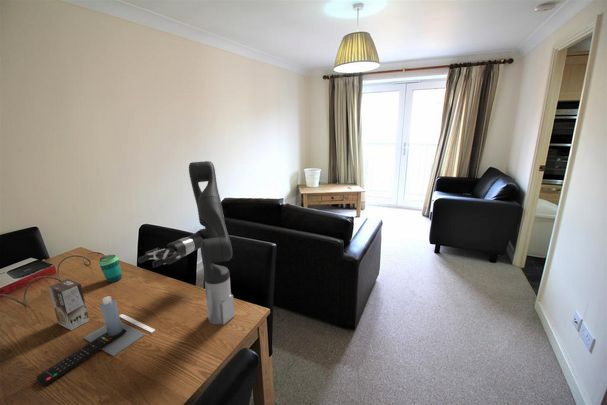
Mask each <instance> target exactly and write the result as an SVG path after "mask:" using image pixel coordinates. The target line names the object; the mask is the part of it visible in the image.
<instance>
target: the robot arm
mask: <svg viewBox="0 0 607 405" xmlns="http://www.w3.org/2000/svg"><path fill="white" fill-rule="evenodd" d="M188 174H189V179H190V180H189V181H190V184H191V188H192V192H193V197H194V200H195V204H196V206H197V207H196V208H197V213H198V214H197V215H198V221H199V224H200V225H201V226H202V227H203V228H201V229H199V230H198V231H196V232H195V233H194V234H191V235H189V236H187V237H186V236H185V237H182V238H179V239H177V240H175V241H171V242H169V243H168V244H167V245H166V246H165V248H161V249H160V247H156V248H153V249H151V250H148V251H145V254H144V255H142V256H140V257H138V259H137V260H138V263H139V264H143V263H145V262H147V261H149V260H154V261H152V264H151V265H152V268H157V267H160V266H161V265H168V266H169V265H171V264H173V263H175V262H177V261H179V260H181V258H184V257H186V256H187V255H189V254H191V253H193V252H195V251H197V250H199V249H200V255H201V262H202V267H203V268H202V269H203V279H204V290H205V300H206V308H207V319H208V322H209V323H210V324H212V325H225V324H227V323H228V322H229V321H230V320H231V319H233V318H234V317H235V304H234V294H232V292H231V291H232V290H231V277H230V275H231V274H230V270H229V269H228V267H227V266H225V265H219V264H216V263H223V262H227V261H230V260H231V259H232V257H233V247H232V242H231V239H230V236H229V233H228V230H227V225H226V222H225V215H224V210H223V206H222V200H221V197H220V193H219V189H218V184H217V183H218V182H217V175H216V174H217V173H216V169H215V165H214V163H213V162H212V161H209V160H207V161H205V160H204V161H193V162H190V163H189V165H188ZM204 182H207V184H206V186H205V188H204V189H203V190H201V187H200V185H199V183H204Z"/></svg>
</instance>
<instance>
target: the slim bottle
mask: <svg viewBox="0 0 607 405" xmlns="http://www.w3.org/2000/svg"><path fill="white" fill-rule="evenodd" d="M99 306H100V310H101V314H102V317H103V321H104V325H106V329H107V333H108V335H109V336H115V335H117V334H119V333H120V332H121V331H122V325H121V322H122V321H121V318H120V317H119V315H120V313H119V308H118V304H117V301H116V299H113V298H112V296H111V295H110V296H109V295H107V296H105V297H103V298H102V302H101V303H100V305H99Z"/></svg>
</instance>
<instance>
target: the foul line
mask: <svg viewBox="0 0 607 405" xmlns="http://www.w3.org/2000/svg"><path fill="white" fill-rule="evenodd" d="M119 317H120V319H122V320H125V321H127V322H128V323H131V324H132V325H135V326H137V327H139V328H141V329H143V330H144V331H147V332H149V333H151V334H152V333H154V332H155V331H156V329H155V328H154V327H153V328H152V327H151V326H148V325H146V324H144V323H142V322H140V321H138V320H136V319H134V318H132V317H130V316H128V315H125V314H123V313H122V314H119Z"/></svg>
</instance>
